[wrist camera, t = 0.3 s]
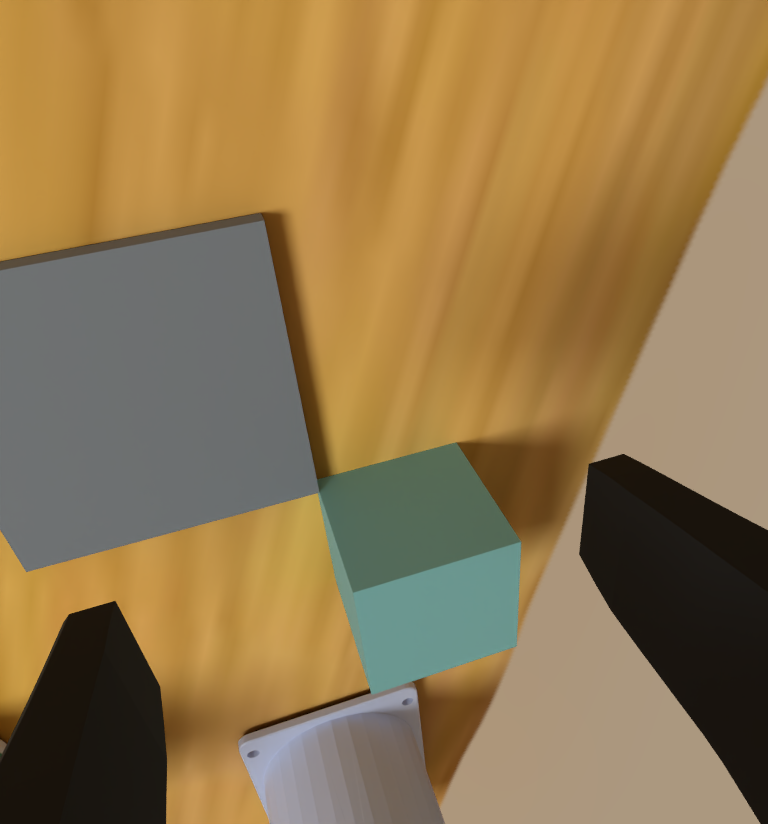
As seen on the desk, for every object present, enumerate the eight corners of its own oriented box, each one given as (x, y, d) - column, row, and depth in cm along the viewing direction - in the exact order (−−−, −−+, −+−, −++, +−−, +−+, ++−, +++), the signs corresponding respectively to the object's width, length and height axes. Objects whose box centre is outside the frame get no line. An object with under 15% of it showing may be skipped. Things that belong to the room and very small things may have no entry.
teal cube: (459, 541, 26) (516, 646, 22) (335, 577, 25) (371, 694, 21) (455, 441, 23) (521, 541, 19) (315, 478, 22) (352, 593, 18)
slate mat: (315, 480, 22) (319, 492, 21) (29, 557, 20) (26, 572, 20) (260, 213, 16) (264, 220, 16) (-134, 286, 15) (-144, 297, 14)
